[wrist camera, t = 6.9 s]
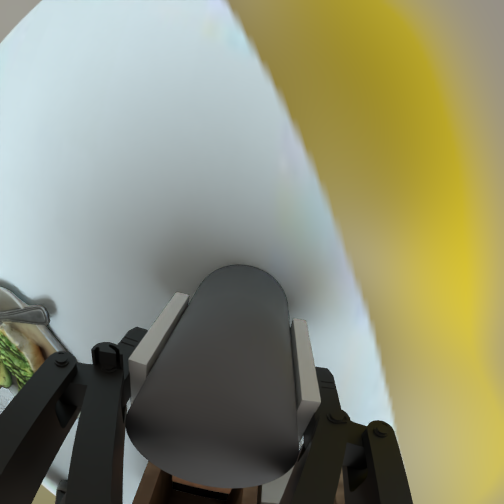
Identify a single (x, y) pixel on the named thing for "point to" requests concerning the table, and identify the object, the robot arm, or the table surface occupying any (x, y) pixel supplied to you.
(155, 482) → the lane shelf
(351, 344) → the table surface
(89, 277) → the table surface
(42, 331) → the avocado toast plate
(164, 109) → the table surface
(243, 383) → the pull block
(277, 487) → the grey lane block
